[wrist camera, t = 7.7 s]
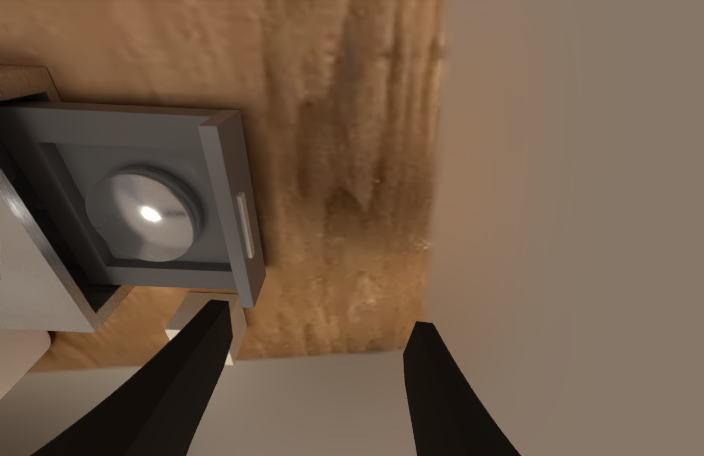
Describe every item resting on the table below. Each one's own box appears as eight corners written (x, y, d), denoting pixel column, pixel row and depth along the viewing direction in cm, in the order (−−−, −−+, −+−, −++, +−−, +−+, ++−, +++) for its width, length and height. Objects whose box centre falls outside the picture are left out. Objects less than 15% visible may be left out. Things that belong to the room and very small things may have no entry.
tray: (14, 99, 15) (-55, 113, 12) (245, 110, 15) (222, 126, 13) (107, 268, 21) (73, 300, 19) (269, 275, 21) (257, 308, 19)
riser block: (188, 292, 23) (164, 329, 21) (239, 294, 24) (223, 331, 21) (200, 325, 26) (180, 363, 23) (247, 327, 26) (233, 365, 23)
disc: (89, 162, 16) (65, 174, 15) (191, 167, 16) (176, 179, 15) (127, 243, 19) (110, 259, 18) (213, 247, 19) (202, 263, 18)
